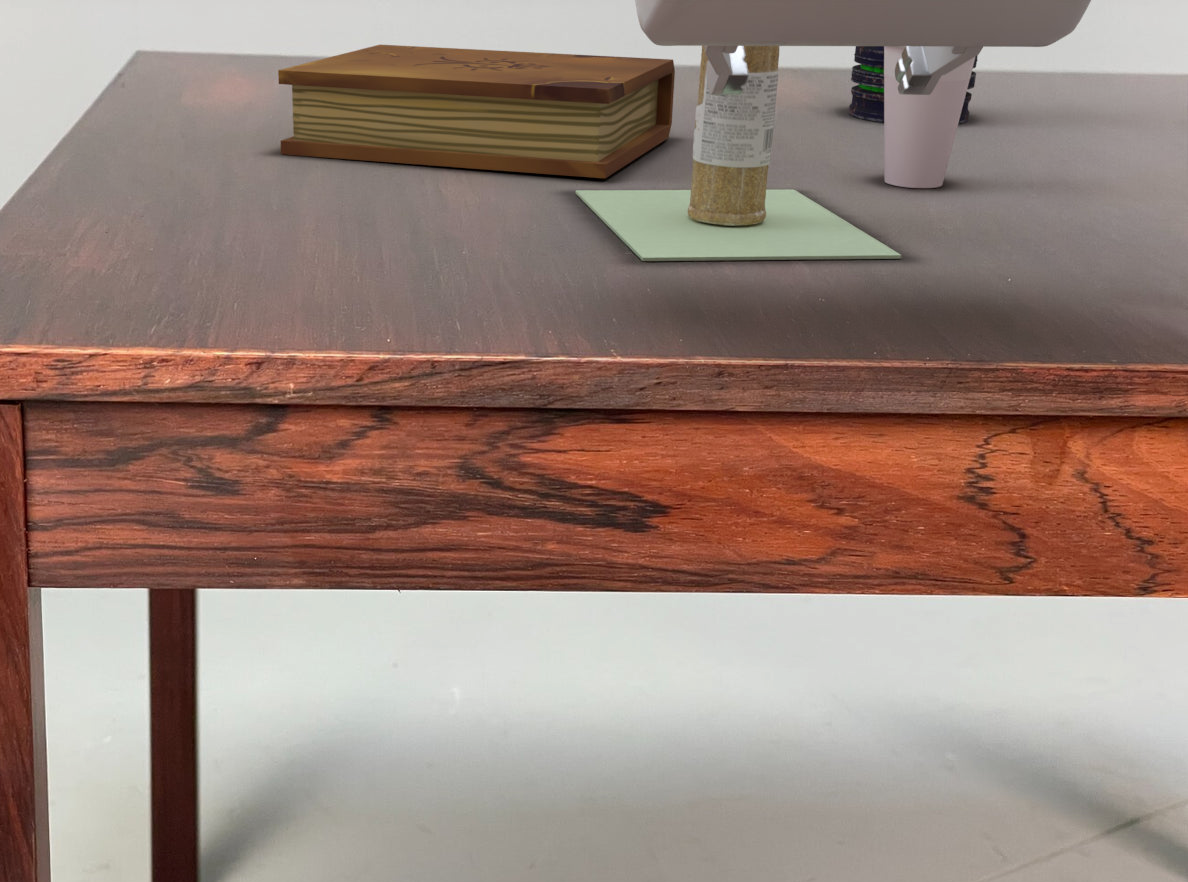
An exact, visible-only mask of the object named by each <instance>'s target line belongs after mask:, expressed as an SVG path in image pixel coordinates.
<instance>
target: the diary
mask: <svg viewBox="0 0 1188 882" xmlns="http://www.w3.org/2000/svg"><path fill="white" fill-rule="evenodd" d="M277 74H278V85H287V86H291V95H292V97H291V99H292V125H293V126H292V130H293V133H292V134H293V136H289V137H287V138H285V139H282V140H281V139H280V154H281V155H286V156H287V155H288V156H302V157H312V158H313V157H315V158H326V159H328V158H329V159H340V160H354V161H367V162H382V163H392V164H393V163H396V164H410V165H420V166H421V165H422V166H432V167H433V166H435V167H447V168H449V167H450V168H461V169H462V168H463V169H474V170H487V171H501V172H515V173H527V174H528V173H529V174H541V175H555V176H567V177H568V176H569V177H583V178H594V179H595V178H596V179H607V178H608V177H610V176H611V175H613V174H614V173H617V172H618V171H619V170H621V169H623V168H624V167H625V166H627V165H629V164H630V163H632V162H633V161H635V160H636V159H638V158H640V157H641V156H642V155H644V154H646V153H647V152H649V151H651V150H652V149H653V148H655V147H656V146H658V145H660V144H661V143H663V142H664V141H666V140H667V139H669V137H670V133H671V129H672V125H673V112H674V111H673V109H674V92H675V78H676V77H675V76H676V75H675V74H676V70H675V62H674V59H671V58H670V59H669V58H650V57H631V56H629V57H628V56H614V55H613V56H612V55H611V56H610V55H594V54H572V53H553V52H552V53H551V52H534V51H513V50H493V49H475V48H454V47H436V46H435V47H434V46H417V45H415V46H414V45H397V44H396V45H395V44H376V45H372V46H368V47H364V48H360V49H356V50H353V51H349V52H344V53H340V54H337V55H333V56H328V57H326V58H325V57H324V58H321V59H316V60H313V61H308V62H305V63H301V64H297V65H293V66H289V67H285V68H281V69H278V70H277Z"/></svg>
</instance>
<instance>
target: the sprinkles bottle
mask: <svg viewBox="0 0 1188 882" xmlns="http://www.w3.org/2000/svg"><path fill="white" fill-rule="evenodd" d="M780 47H781V46H744V50H745V55H746V56H745V59H744V61H745V62H746V63H747V66H748V72H749V76H748V79H747V81H746V84H745V85H743V86H742V88H743V91H742V93H741V94H721V95H710V93H709V89H708V83H707V77H706V67H707V62H708V57H707V55H706V52H705V47H704V46H701V55H700V65H699V67H700V68H699V78H698V81H699V82H698V89H697V90H698V92H697V104H696V106H695V115H694V116H695V118H694V128H693V130H694V131H693V140H692V141H693V142H692V143H693V144H692V174H691V187H690V190H691V197H690V204H689V206H688V215H689V217H690V218H692V219H694V220H696V221H699V222H704V223H710V224H716V225H724V226H746V225H753V224H757V223H760V222H761V221H763V220H764V219H765V218H766V210H765V198H766V190H767V183H768V173H769V166H770V164H771V161H772V160H771V159H772V150H773V149H772V147H773V138H774V127H775V115H776V104H777V95H778V84H779V73H780V71H779V59H780Z"/></svg>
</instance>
